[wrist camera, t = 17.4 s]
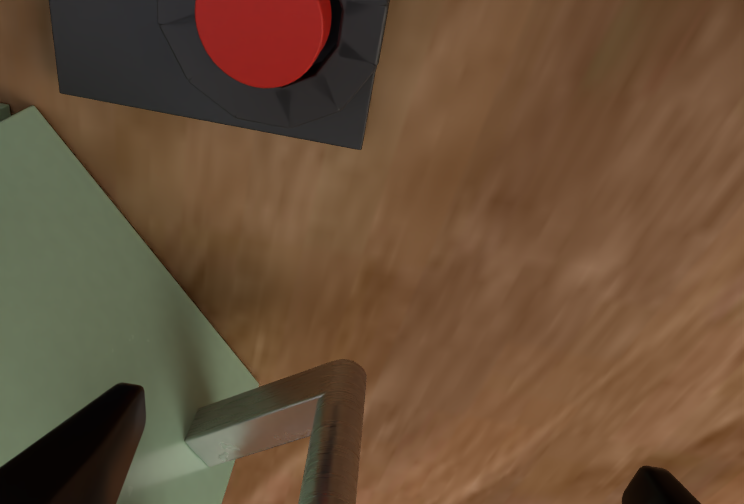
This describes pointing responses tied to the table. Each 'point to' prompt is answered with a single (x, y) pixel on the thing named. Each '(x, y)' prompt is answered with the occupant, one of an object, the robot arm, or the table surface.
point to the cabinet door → (140, 344)
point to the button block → (216, 68)
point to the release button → (263, 37)
